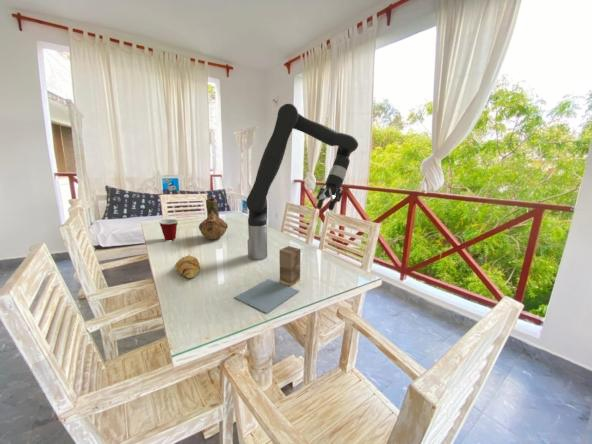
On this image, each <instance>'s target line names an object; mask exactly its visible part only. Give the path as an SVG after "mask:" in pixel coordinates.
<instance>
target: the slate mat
mask: <svg viewBox="0 0 592 444" xmlns="http://www.w3.org/2000/svg"><path fill="white" fill-rule="evenodd" d="M298 293H300V290H298V289H296V288H293V287H292V286H289V285H286V284H284V283H281V282H277V281H275V280H272V279H269V278H267V279H266V280H263V281H262V282H260V283H258V284H256V285H254V286H252V287H251V288H249V289H246V290H245V291H243V292H241V293H239V294H238V295H235V296H234V299H235V298H237V299H236V300H238V299H239V300H238V301H240V300H241V301H240V302H242V301H243V302H242V303H244V302H245V303H244V304H246V303H247V304H246V305H248V304H249V305H248V306H250V305H252V306H254V307H255V308H254V307H253V308H254V309H256V308H257V309H256V310H258V309H259V310H258V311H260V310H261V311H260V312H262V311H263V312H262V313H264V312H265V313H264V314H266V313H268V314H269V313H270V312H272V311H273V310H275V309H277V307H279V306H280V305H282V304H283V303H285V302H287V301H288V300H290V299H291V298H292V297H294V296H295V295H297V294H298ZM252 306H251V307H252Z"/></svg>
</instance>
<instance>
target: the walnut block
mask: <svg viewBox="0 0 592 444" xmlns="http://www.w3.org/2000/svg"><path fill="white" fill-rule="evenodd" d="M300 281H301V248H298V247H294V246H291V245H290V246H286V247H283V248H281V249H279V283H280V284H283V285H285V286H288V287H292V286H294V285H296V284H297V283H299V282H300Z"/></svg>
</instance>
